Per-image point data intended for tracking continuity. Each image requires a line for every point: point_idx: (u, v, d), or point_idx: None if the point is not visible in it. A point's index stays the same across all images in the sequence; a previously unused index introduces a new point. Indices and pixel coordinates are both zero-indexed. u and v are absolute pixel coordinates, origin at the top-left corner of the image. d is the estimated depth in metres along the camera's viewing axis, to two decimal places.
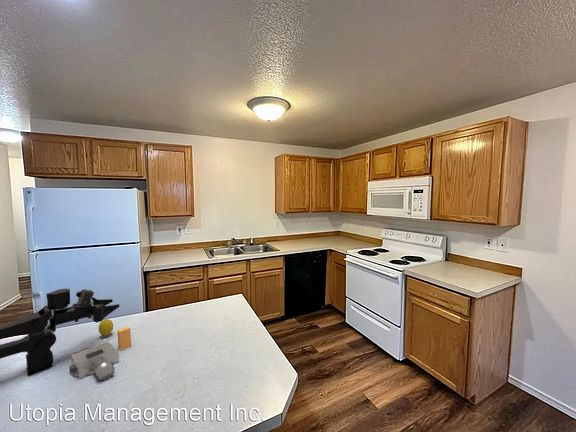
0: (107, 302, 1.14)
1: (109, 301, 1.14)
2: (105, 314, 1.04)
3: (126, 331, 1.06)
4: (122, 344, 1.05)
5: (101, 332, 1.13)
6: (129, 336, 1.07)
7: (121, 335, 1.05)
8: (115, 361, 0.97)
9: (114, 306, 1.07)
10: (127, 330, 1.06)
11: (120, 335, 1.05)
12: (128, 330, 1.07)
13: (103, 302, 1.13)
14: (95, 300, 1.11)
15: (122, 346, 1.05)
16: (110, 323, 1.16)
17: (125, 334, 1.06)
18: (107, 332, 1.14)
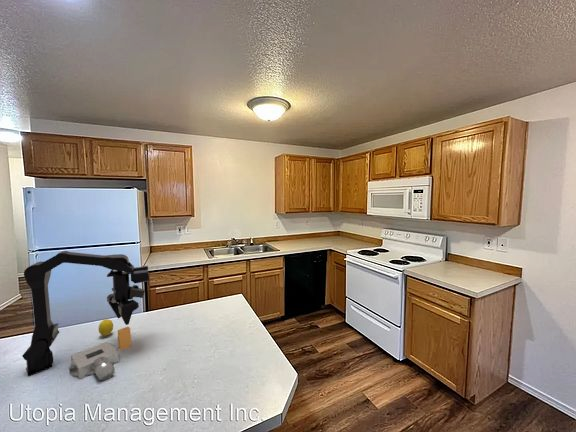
0: (118, 313, 1.09)
1: (119, 315, 1.09)
2: (123, 314, 1.01)
3: (126, 331, 1.06)
4: (122, 344, 1.05)
5: (101, 332, 1.13)
6: (129, 336, 1.07)
7: (121, 335, 1.05)
8: (115, 361, 0.97)
9: (128, 319, 1.03)
10: (127, 330, 1.06)
11: (120, 335, 1.05)
12: (128, 330, 1.07)
13: (119, 310, 1.09)
14: None
15: (122, 346, 1.05)
16: (110, 323, 1.16)
17: (125, 334, 1.06)
18: (107, 332, 1.14)
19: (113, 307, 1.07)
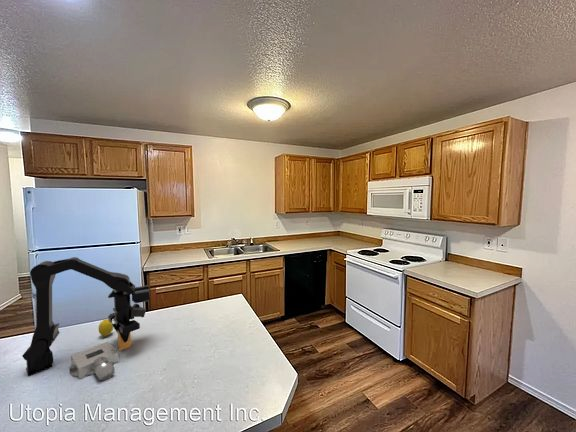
0: None
1: None
2: None
3: None
4: (122, 344, 1.05)
5: (101, 332, 1.13)
6: (129, 336, 1.07)
7: None
8: (115, 361, 0.97)
9: (127, 337, 1.06)
10: None
11: None
12: None
13: None
14: None
15: (122, 346, 1.05)
16: (110, 323, 1.16)
17: None
18: (107, 332, 1.14)
19: (117, 329, 1.06)
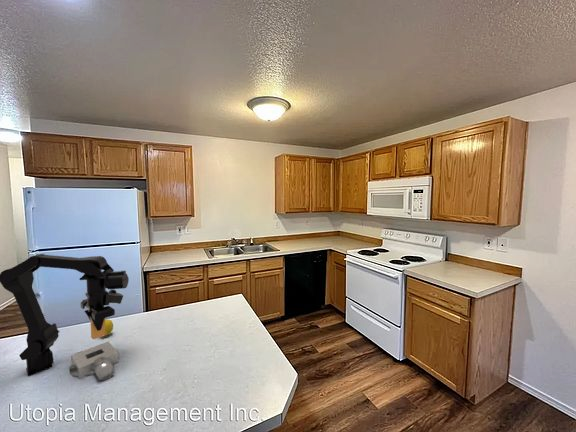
0: None
1: None
2: None
3: None
4: (95, 332, 0.96)
5: None
6: (103, 324, 0.98)
7: None
8: (115, 361, 0.97)
9: (100, 325, 0.96)
10: None
11: None
12: None
13: None
14: None
15: (95, 335, 0.96)
16: (110, 323, 1.16)
17: None
18: (107, 332, 1.14)
19: (90, 316, 0.97)
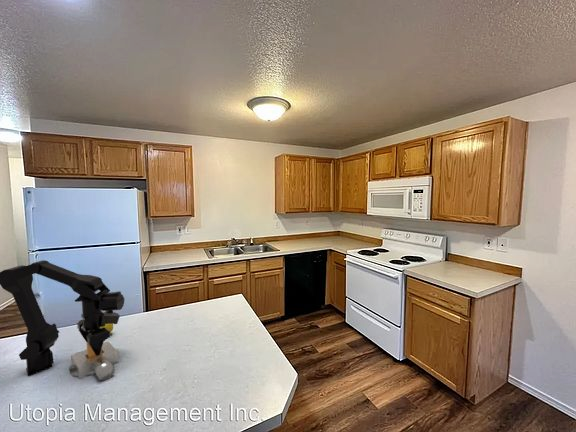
0: None
1: None
2: (93, 344, 0.91)
3: None
4: None
5: None
6: None
7: (90, 348, 0.94)
8: (115, 361, 0.97)
9: (99, 350, 0.93)
10: None
11: (89, 348, 0.94)
12: None
13: None
14: None
15: None
16: None
17: None
18: None
19: (84, 335, 0.98)
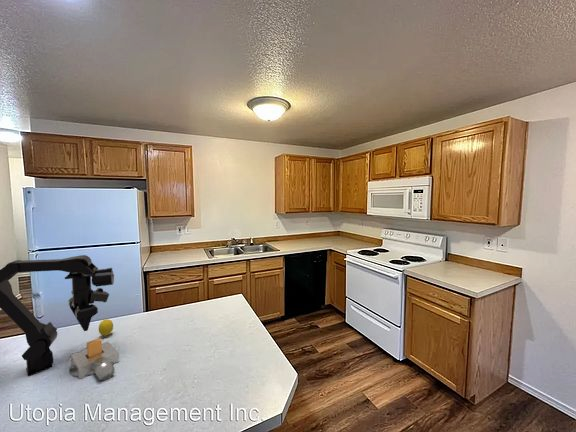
0: None
1: None
2: (80, 319, 0.93)
3: (96, 343, 0.96)
4: None
5: (101, 332, 1.13)
6: (100, 349, 0.97)
7: (90, 348, 0.94)
8: (115, 361, 0.97)
9: (87, 325, 0.96)
10: (98, 342, 0.96)
11: (89, 348, 0.94)
12: (99, 342, 0.96)
13: None
14: None
15: None
16: (110, 323, 1.16)
17: (95, 347, 0.95)
18: (107, 332, 1.14)
19: (74, 311, 1.01)
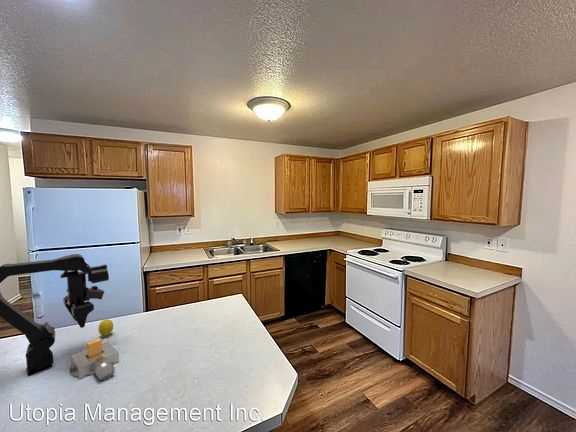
0: None
1: None
2: (77, 316, 0.95)
3: (96, 343, 0.96)
4: None
5: (101, 332, 1.13)
6: (100, 349, 0.97)
7: (90, 348, 0.94)
8: (115, 361, 0.97)
9: (84, 322, 0.98)
10: (98, 342, 0.96)
11: (89, 348, 0.94)
12: (99, 342, 0.96)
13: None
14: None
15: None
16: (110, 323, 1.16)
17: (95, 347, 0.95)
18: (107, 332, 1.14)
19: (69, 309, 1.02)
